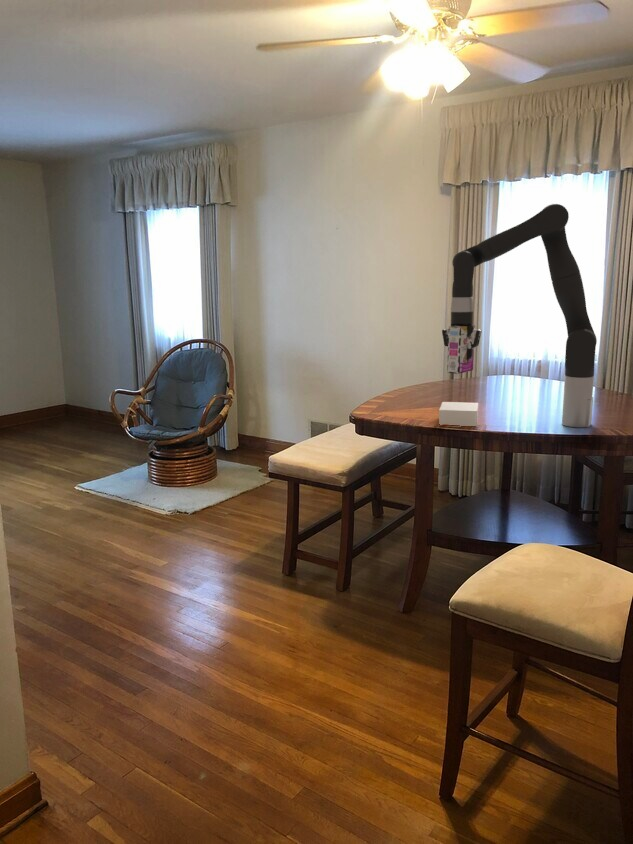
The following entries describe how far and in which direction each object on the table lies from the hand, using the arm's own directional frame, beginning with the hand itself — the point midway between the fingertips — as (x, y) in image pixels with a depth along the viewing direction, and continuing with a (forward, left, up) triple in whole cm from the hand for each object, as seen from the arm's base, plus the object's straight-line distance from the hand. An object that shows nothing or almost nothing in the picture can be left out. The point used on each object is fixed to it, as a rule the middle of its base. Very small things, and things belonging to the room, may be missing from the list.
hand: (460, 358), depth 232 cm
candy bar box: (0, 0, -5) cm, 5 cm away
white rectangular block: (0, 0, -23) cm, 23 cm away
